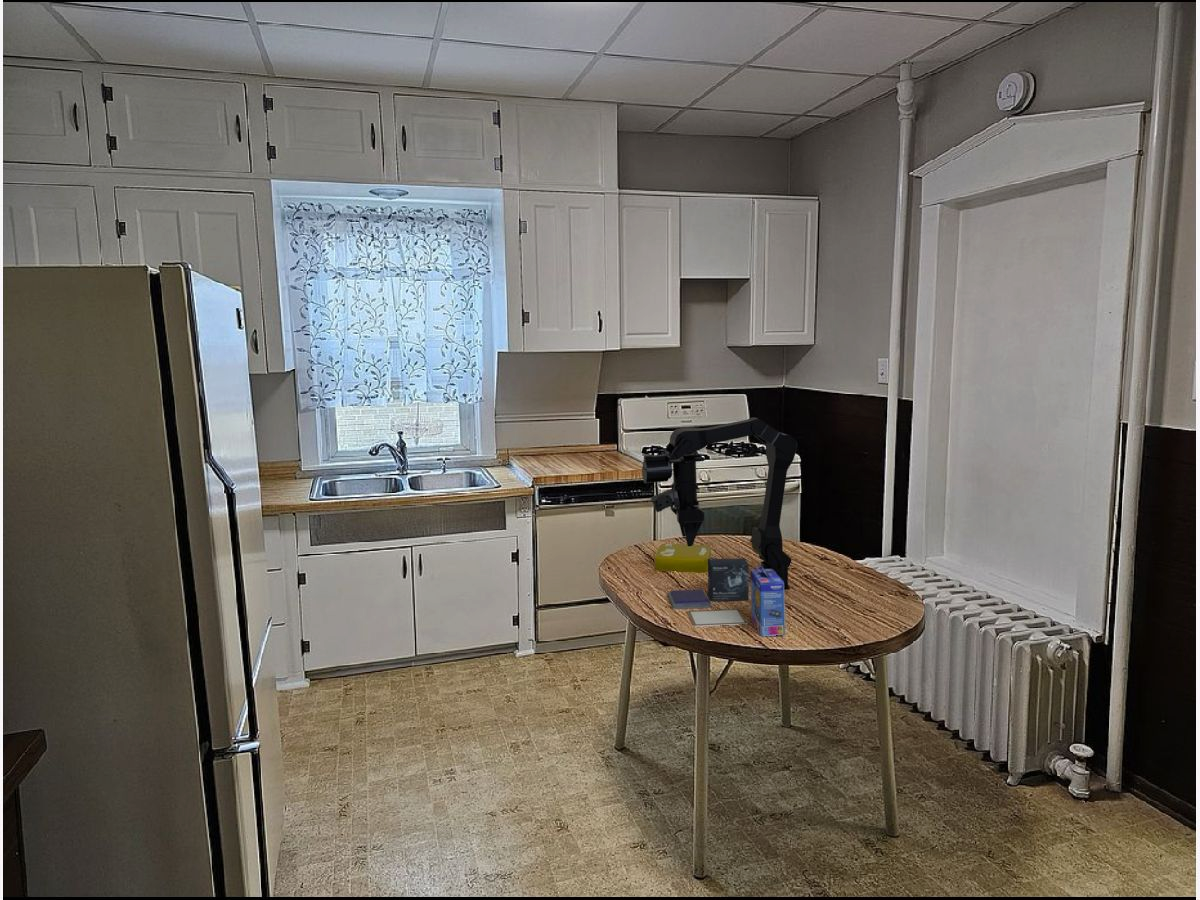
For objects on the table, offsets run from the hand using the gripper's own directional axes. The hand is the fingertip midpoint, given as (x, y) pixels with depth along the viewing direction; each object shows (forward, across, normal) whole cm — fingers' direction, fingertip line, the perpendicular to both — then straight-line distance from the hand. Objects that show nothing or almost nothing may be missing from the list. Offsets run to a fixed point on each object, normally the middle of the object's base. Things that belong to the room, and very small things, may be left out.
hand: (687, 541), depth 189 cm
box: (+14, +4, +9) cm, 17 cm away
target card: (+14, +18, +4) cm, 23 cm away
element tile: (+14, -24, +2) cm, 28 cm away
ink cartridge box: (+14, +25, +14) cm, 32 cm away
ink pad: (+13, +7, -1) cm, 15 cm away
